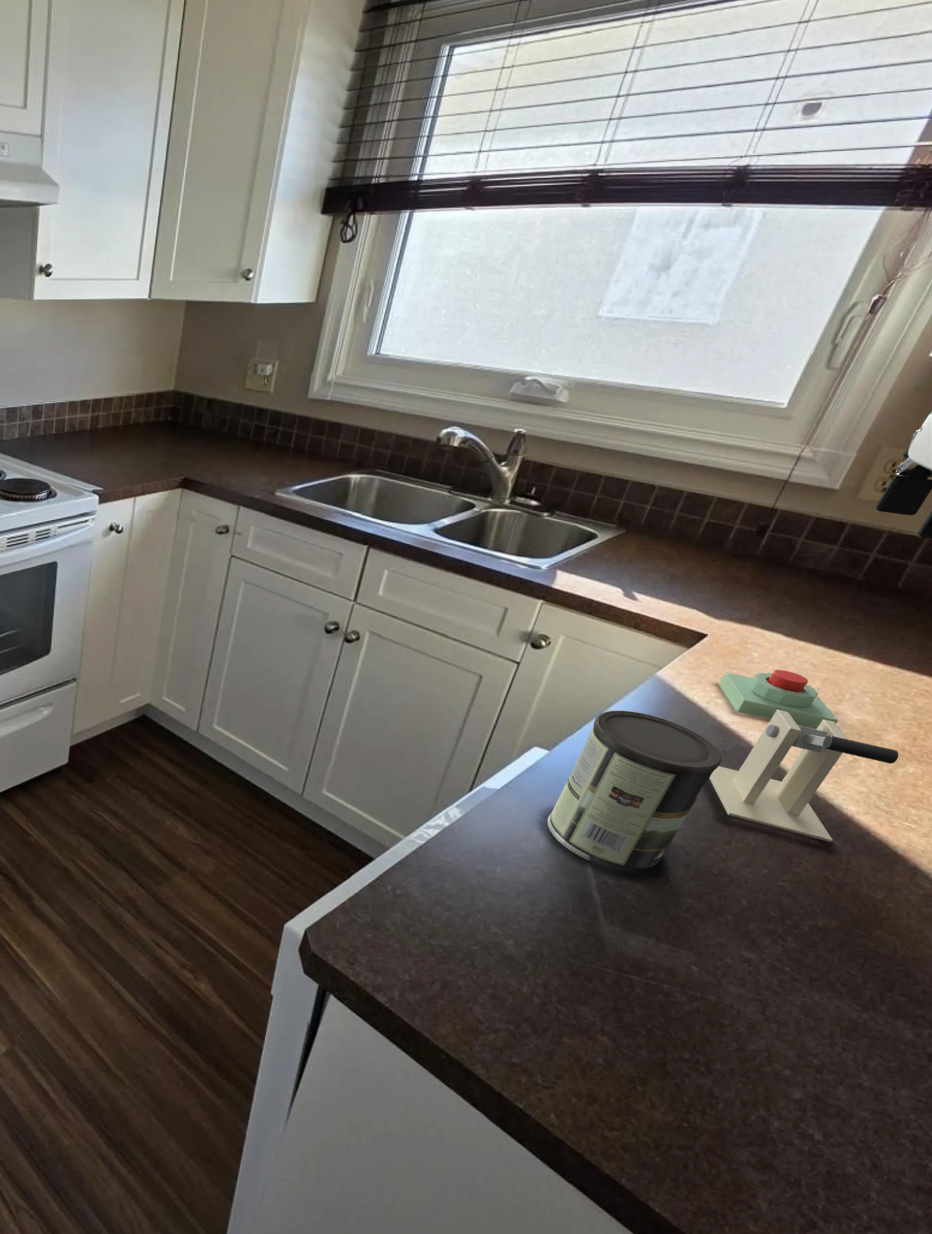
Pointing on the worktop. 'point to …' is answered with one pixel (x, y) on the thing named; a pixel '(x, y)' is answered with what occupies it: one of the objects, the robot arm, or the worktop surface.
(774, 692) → the button box
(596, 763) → the coffee can
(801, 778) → the bracket
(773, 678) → the button
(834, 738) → the lever
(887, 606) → the worktop surface
